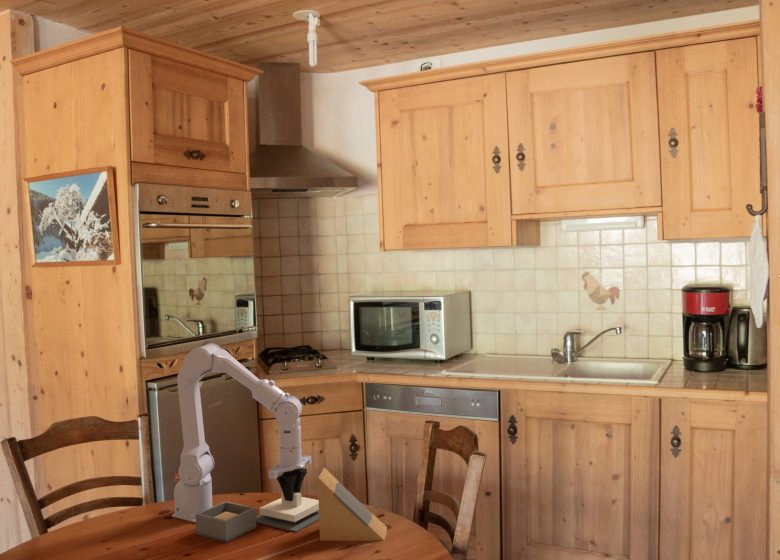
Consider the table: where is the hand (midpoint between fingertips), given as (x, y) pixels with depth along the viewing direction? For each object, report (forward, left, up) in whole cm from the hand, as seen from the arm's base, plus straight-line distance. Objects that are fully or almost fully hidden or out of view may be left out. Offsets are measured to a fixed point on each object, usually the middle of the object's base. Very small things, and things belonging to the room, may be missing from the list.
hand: (291, 499), depth 178 cm
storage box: (-8, -15, -4) cm, 18 cm away
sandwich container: (+20, -1, -5) cm, 21 cm away
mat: (0, 0, -4) cm, 4 cm away
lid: (0, 0, -3) cm, 3 cm away
